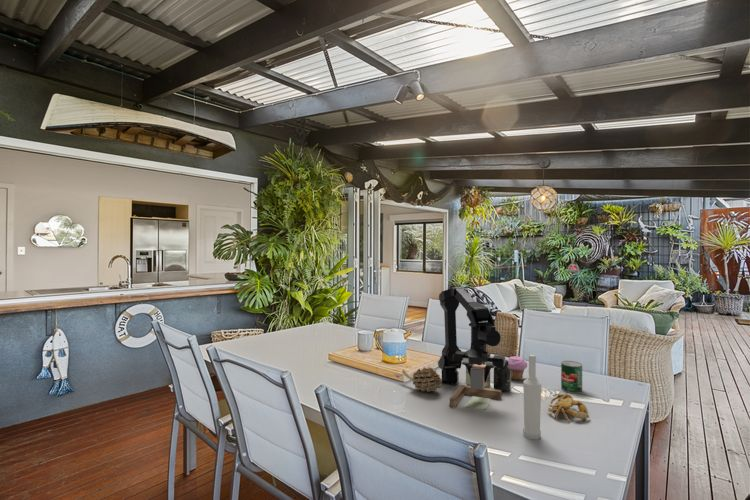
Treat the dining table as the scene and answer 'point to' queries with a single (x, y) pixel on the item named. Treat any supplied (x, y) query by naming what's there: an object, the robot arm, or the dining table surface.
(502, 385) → the supplement bottle
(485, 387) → the coffee can
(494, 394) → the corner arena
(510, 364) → the cupcake
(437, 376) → the pine cone
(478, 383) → the terracotta block
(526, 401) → the bottle
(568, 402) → the crab model
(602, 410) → the dining table surface
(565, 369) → the canned tomato
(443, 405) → the dining table surface
